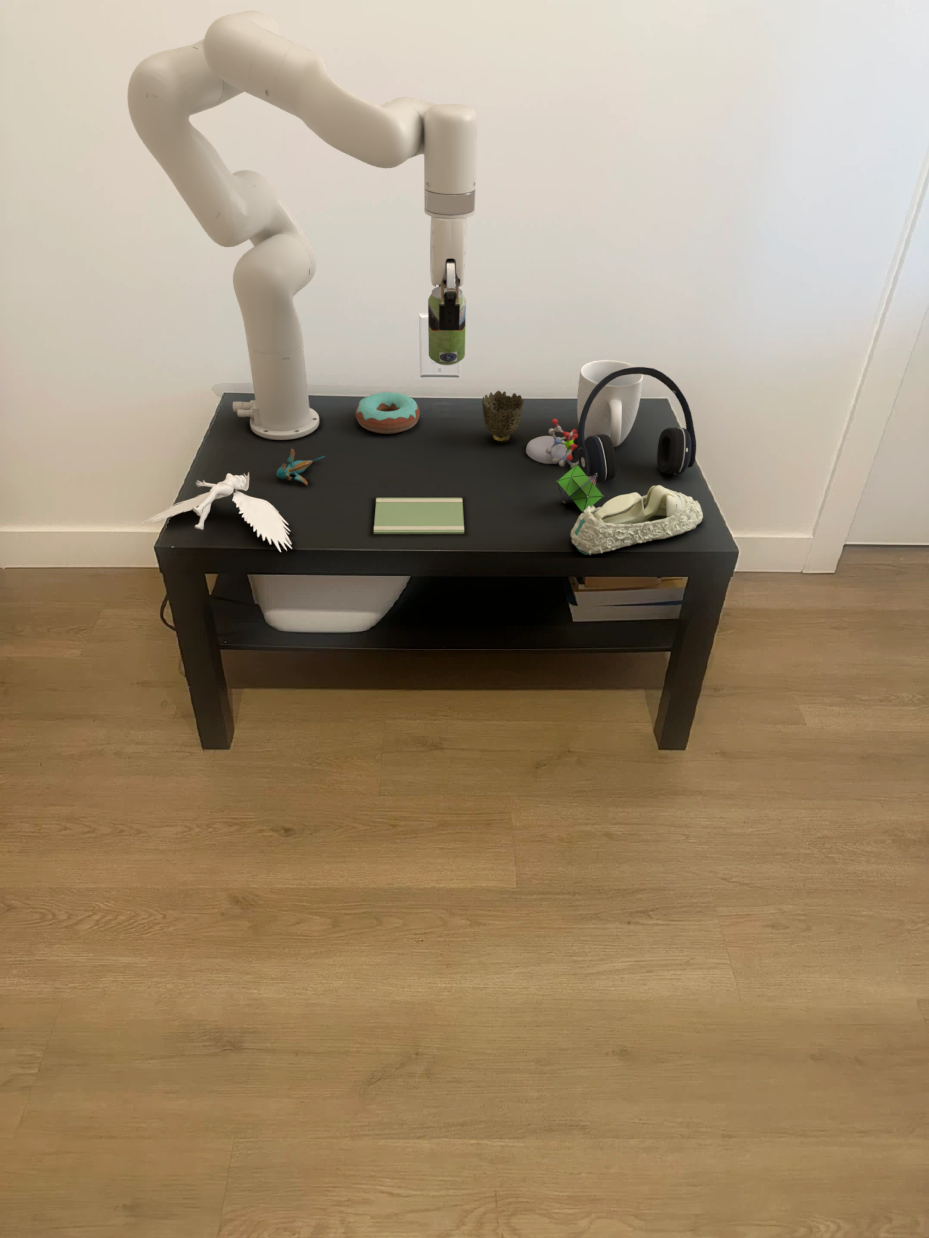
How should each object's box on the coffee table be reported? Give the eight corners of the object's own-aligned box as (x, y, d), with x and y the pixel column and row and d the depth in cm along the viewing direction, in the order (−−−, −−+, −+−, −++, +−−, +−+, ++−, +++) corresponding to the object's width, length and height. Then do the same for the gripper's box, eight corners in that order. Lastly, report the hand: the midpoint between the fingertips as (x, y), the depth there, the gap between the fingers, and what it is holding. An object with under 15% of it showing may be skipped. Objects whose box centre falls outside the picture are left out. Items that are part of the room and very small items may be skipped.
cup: (527, 436, 159) (530, 395, 154) (512, 453, 154) (514, 412, 149) (490, 427, 162) (492, 387, 157) (474, 444, 156) (475, 403, 151)
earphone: (684, 473, 152) (678, 366, 149) (702, 472, 146) (697, 360, 143) (576, 484, 149) (568, 375, 146) (589, 484, 142) (581, 369, 139)
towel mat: (373, 534, 134) (373, 531, 134) (376, 499, 142) (376, 497, 141) (464, 534, 134) (464, 531, 134) (462, 499, 142) (462, 497, 142)
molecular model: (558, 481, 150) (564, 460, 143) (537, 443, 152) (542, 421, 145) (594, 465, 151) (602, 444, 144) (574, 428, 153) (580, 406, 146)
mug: (642, 466, 151) (654, 396, 143) (580, 466, 151) (588, 396, 143) (626, 426, 163) (637, 359, 155) (568, 426, 162) (575, 359, 154)
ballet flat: (716, 530, 138) (728, 487, 132) (592, 572, 128) (600, 527, 123) (680, 502, 143) (691, 460, 138) (559, 540, 133) (565, 497, 128)
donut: (350, 412, 165) (349, 392, 163) (411, 405, 168) (411, 385, 165) (362, 441, 157) (361, 421, 154) (426, 433, 159) (426, 413, 157)
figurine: (112, 523, 127) (162, 530, 141) (269, 560, 123) (304, 564, 137) (129, 442, 126) (177, 458, 140) (286, 478, 122) (321, 490, 136)
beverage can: (465, 356, 147) (469, 283, 140) (462, 371, 141) (467, 296, 134) (428, 353, 147) (431, 280, 140) (424, 368, 142) (426, 293, 134)
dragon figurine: (279, 452, 150) (266, 457, 143) (318, 438, 149) (306, 442, 142) (294, 488, 152) (282, 495, 144) (332, 473, 151) (322, 480, 143)
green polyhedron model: (591, 466, 133) (576, 451, 140) (557, 495, 135) (544, 478, 142) (617, 498, 137) (601, 481, 144) (583, 526, 138) (569, 508, 145)
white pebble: (525, 452, 151) (525, 462, 152) (571, 455, 150) (570, 465, 152) (527, 430, 157) (526, 439, 158) (572, 433, 156) (570, 443, 158)
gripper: (422, 186, 135) (423, 302, 146) (426, 218, 121) (426, 342, 133) (471, 187, 135) (467, 302, 147) (479, 218, 122) (475, 342, 133)
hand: (448, 320), depth 140 cm, fingers closed on beverage can, 6 cm apart
